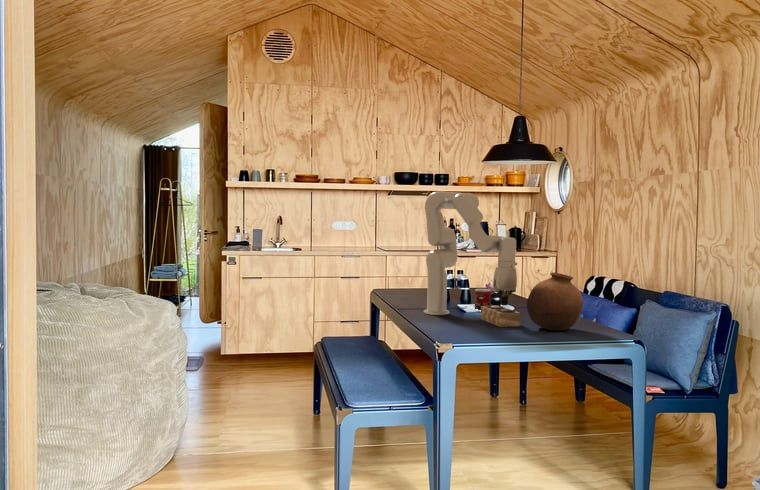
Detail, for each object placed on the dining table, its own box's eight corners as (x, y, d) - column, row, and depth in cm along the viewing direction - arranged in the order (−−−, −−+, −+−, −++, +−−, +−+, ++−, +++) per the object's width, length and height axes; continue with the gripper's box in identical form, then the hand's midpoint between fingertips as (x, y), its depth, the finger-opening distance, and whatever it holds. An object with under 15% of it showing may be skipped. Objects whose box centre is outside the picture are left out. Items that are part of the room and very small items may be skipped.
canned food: (472, 309, 315) (472, 288, 314) (486, 309, 317) (486, 288, 316) (478, 312, 307) (479, 290, 307) (493, 312, 310) (493, 290, 309)
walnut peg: (498, 323, 278) (499, 309, 278) (506, 323, 280) (506, 309, 279) (502, 325, 275) (503, 310, 274) (510, 325, 276) (511, 310, 275)
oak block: (480, 319, 289) (481, 305, 289) (499, 318, 292) (500, 304, 292) (499, 326, 271) (500, 312, 271) (519, 326, 274) (520, 311, 274)
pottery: (517, 326, 274) (519, 270, 272) (560, 323, 282) (562, 269, 280) (548, 336, 252) (550, 276, 251) (593, 333, 261) (596, 275, 259)
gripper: (516, 263, 281) (514, 303, 283) (487, 263, 277) (485, 303, 278) (525, 265, 274) (522, 306, 276) (495, 265, 270) (492, 306, 271)
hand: (503, 304), depth 277 cm, fingers closed
